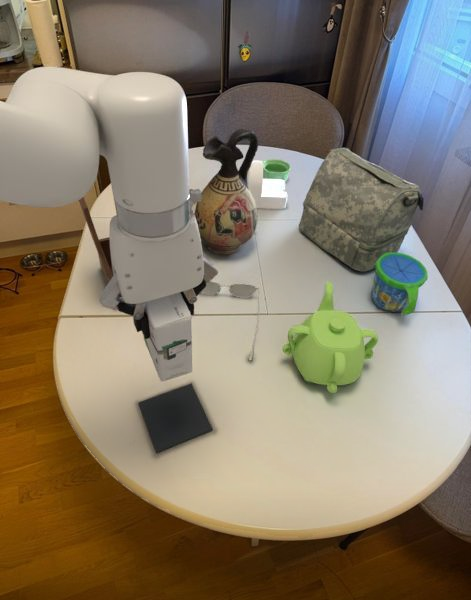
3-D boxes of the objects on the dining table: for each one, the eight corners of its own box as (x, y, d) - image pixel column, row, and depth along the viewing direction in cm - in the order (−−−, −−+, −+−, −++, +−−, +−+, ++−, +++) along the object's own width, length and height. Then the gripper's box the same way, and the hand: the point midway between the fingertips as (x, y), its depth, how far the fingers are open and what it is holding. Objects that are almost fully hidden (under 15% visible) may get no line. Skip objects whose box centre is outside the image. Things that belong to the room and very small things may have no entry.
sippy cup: (421, 327, 91) (440, 294, 83) (373, 326, 90) (388, 293, 83) (399, 278, 101) (414, 245, 94) (357, 277, 101) (368, 244, 94)
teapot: (267, 351, 84) (274, 308, 75) (317, 321, 90) (329, 278, 81) (325, 410, 75) (340, 369, 66) (375, 372, 81) (396, 330, 72)
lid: (72, 170, 79) (68, 171, 79) (87, 207, 71) (83, 208, 71) (96, 237, 92) (92, 239, 91) (111, 276, 83) (107, 277, 83)
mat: (156, 453, 68) (155, 452, 67) (138, 404, 74) (138, 402, 73) (212, 430, 71) (212, 428, 71) (191, 384, 77) (191, 382, 77)
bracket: (282, 190, 128) (287, 155, 119) (286, 209, 120) (292, 172, 112) (220, 188, 127) (221, 152, 118) (220, 207, 119) (221, 170, 111)
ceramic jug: (207, 270, 100) (208, 150, 79) (186, 233, 110) (182, 118, 88) (270, 254, 106) (287, 138, 84) (244, 221, 115) (253, 109, 94)
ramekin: (258, 171, 135) (259, 158, 132) (285, 171, 136) (287, 158, 133) (262, 186, 129) (264, 173, 126) (291, 185, 130) (293, 172, 127)
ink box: (142, 338, 63) (133, 281, 54) (174, 329, 64) (170, 271, 56) (160, 384, 57) (153, 327, 49) (194, 372, 59) (193, 315, 51)
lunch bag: (409, 259, 107) (444, 182, 92) (359, 283, 99) (388, 204, 84) (339, 209, 122) (359, 135, 106) (291, 227, 114) (305, 150, 99)
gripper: (214, 177, 48) (212, 289, 61) (61, 206, 43) (94, 324, 55) (243, 211, 44) (234, 325, 57) (75, 249, 38) (108, 366, 51)
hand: (165, 323), depth 56 cm, fingers closed on ink box, 5 cm apart
